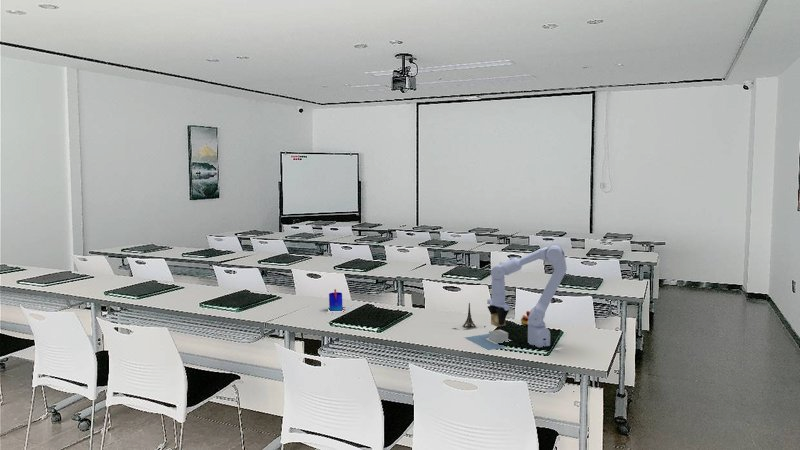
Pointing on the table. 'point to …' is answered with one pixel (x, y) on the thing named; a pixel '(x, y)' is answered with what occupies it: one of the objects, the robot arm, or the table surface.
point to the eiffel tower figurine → (469, 322)
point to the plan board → (485, 342)
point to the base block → (498, 336)
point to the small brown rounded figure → (525, 318)
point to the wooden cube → (496, 320)
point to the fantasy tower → (335, 301)
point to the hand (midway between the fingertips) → (498, 323)
